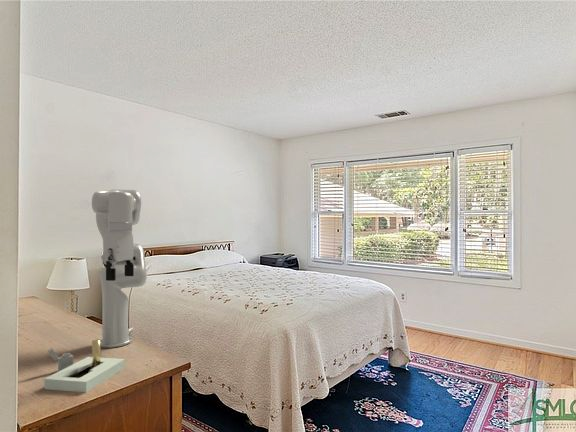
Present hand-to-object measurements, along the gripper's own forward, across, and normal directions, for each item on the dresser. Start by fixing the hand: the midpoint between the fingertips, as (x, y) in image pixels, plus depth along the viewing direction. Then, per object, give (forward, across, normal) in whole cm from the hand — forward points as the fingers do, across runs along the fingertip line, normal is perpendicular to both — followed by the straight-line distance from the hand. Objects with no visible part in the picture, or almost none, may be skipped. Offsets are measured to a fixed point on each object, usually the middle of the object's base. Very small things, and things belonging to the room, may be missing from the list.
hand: (120, 278), depth 125 cm
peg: (+30, +6, -4) cm, 31 cm away
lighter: (+30, +7, -17) cm, 35 cm away
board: (+30, +10, -4) cm, 32 cm away
